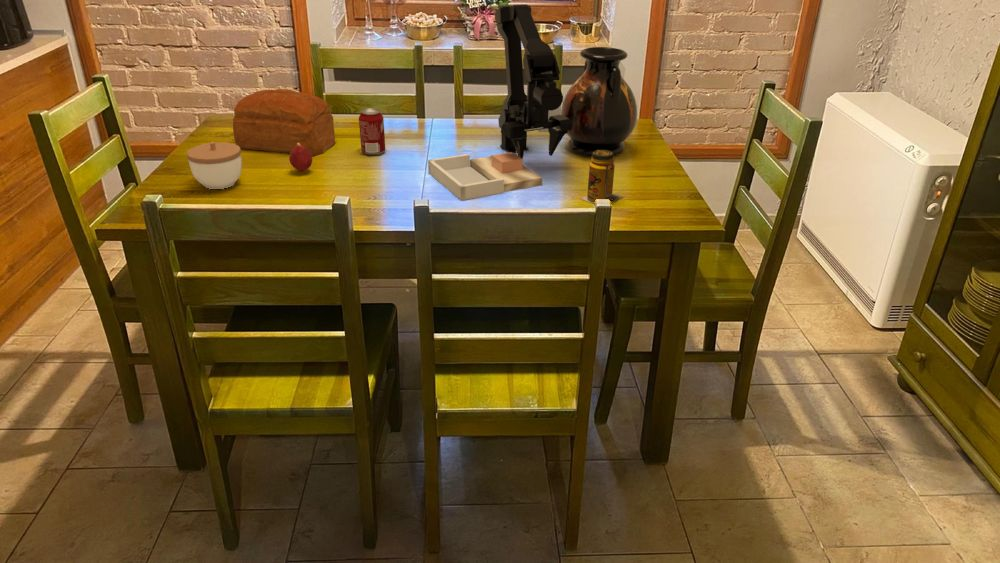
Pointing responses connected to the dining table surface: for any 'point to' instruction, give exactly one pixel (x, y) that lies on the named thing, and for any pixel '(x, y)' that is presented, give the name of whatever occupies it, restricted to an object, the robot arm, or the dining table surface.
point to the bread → (283, 122)
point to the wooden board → (506, 174)
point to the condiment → (601, 177)
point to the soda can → (372, 131)
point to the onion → (300, 158)
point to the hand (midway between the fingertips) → (535, 157)
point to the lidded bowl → (215, 164)
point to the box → (463, 177)
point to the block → (507, 162)
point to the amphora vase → (600, 104)
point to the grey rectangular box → (551, 113)
